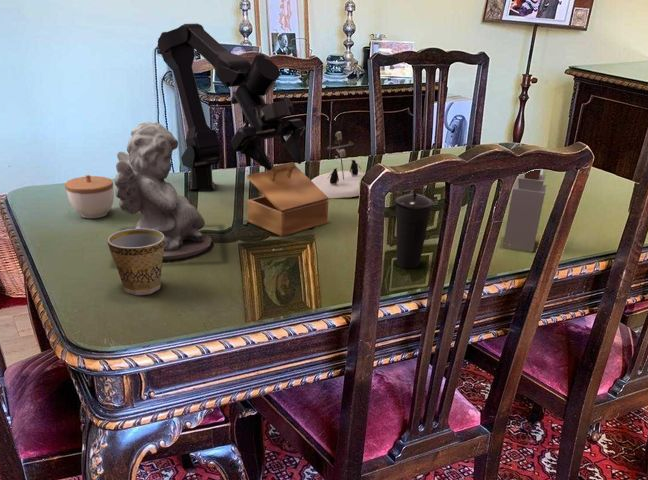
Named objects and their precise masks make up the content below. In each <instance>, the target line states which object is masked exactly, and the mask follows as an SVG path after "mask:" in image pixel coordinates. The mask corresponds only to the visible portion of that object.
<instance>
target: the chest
mask: <svg viewBox="0 0 648 480" xmlns="http://www.w3.org/2000/svg"><path fill="white" fill-rule="evenodd" d="M246 203H247V223H250V224H251V225H254V226H256V227H259V228H262V229H264V230H267V231H269V232H271V233H273V234H275V235H278V236H280V237H284V236H288V235H291V234H294V233H298V232H301V231H305V230H308V229H311V228H315V227H318V226H322V225H325V224H328V223H329V200H328V201H324V202H320V203H316V204H313V205H309V206H305V207H302V208H298V209H294V210H290V211H287V212H283V213H281V212H280V211H279V210H278V209H277V208H276V207H275V206H274V205H273V204H272V203H271V202H270V201H269V200H268V199H267V198H266V197H265V196H264V195H262V196H259V197H254V198H250V199H247V202H246Z"/></svg>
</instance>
